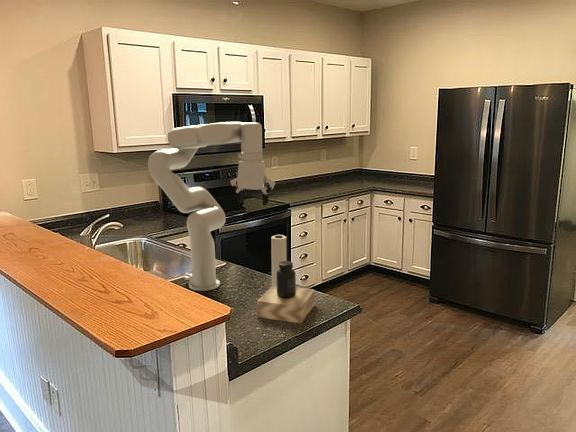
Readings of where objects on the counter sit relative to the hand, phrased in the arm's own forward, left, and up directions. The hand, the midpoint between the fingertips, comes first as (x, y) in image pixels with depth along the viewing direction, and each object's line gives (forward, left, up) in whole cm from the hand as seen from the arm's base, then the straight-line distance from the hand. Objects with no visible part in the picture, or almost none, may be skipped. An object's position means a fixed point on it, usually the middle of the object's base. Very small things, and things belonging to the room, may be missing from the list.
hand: (252, 203), depth 171 cm
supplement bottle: (+16, -9, -31) cm, 36 cm away
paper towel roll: (+6, +12, -36) cm, 39 cm away
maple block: (+16, -9, -36) cm, 41 cm away
